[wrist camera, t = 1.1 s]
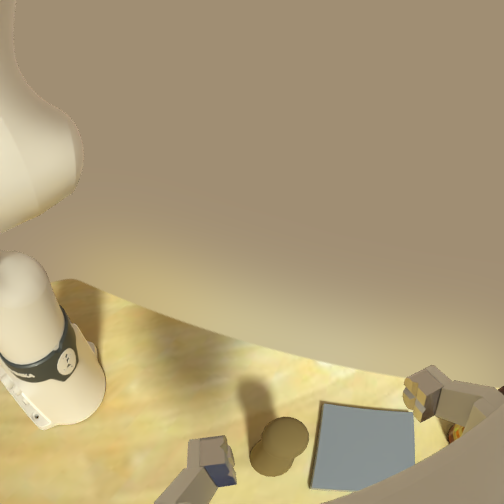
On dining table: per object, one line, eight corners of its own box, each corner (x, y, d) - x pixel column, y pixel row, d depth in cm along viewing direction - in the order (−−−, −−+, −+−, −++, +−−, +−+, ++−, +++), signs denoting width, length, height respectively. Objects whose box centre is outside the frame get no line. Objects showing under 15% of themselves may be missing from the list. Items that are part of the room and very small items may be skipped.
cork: (263, 431, 36) (276, 400, 29) (300, 449, 33) (324, 423, 27) (241, 463, 31) (248, 442, 25) (280, 483, 29) (301, 467, 23)
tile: (309, 488, 28) (311, 487, 28) (322, 406, 40) (324, 403, 39) (410, 490, 26) (414, 488, 26) (410, 414, 38) (413, 412, 37)
